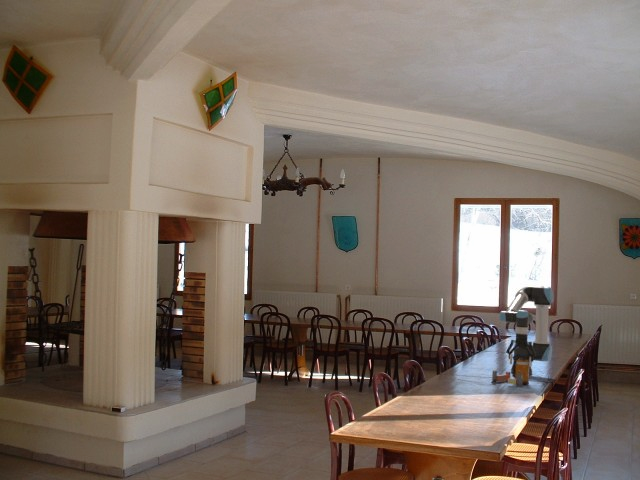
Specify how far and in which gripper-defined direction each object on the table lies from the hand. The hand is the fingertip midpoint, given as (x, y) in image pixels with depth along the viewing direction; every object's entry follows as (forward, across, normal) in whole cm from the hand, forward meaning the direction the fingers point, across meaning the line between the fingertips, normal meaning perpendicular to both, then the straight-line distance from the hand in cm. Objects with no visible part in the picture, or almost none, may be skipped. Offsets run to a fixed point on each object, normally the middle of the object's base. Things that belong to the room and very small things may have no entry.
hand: (520, 365), depth 470 cm
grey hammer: (+12, +1, -10) cm, 16 cm away
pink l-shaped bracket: (+12, -12, -1) cm, 17 cm away
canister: (+13, 0, 0) cm, 13 cm away
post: (+12, -14, -10) cm, 21 cm away
